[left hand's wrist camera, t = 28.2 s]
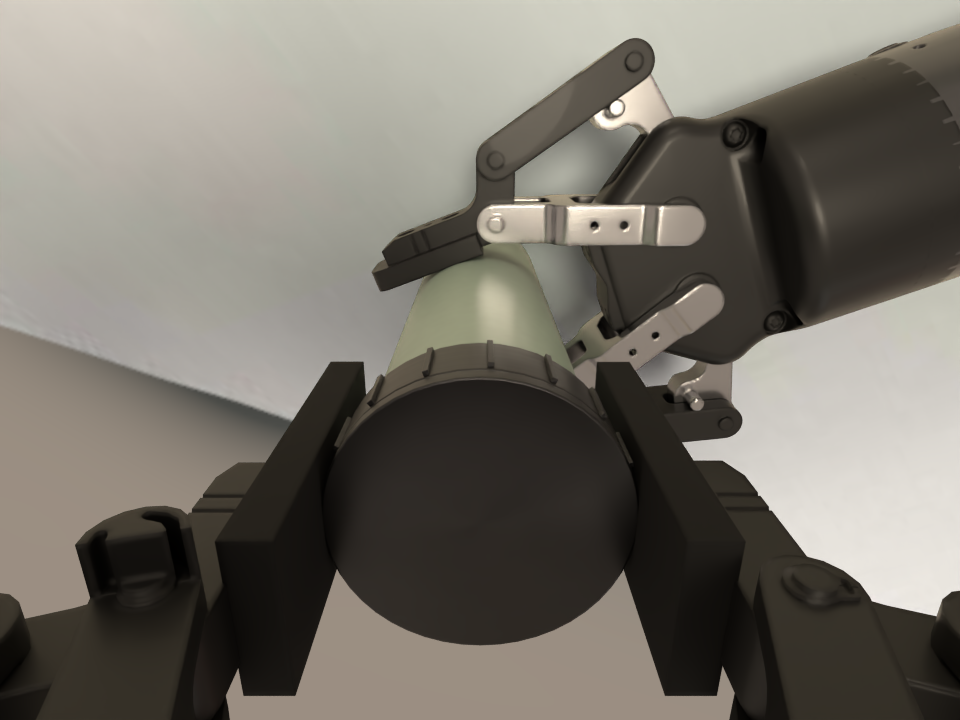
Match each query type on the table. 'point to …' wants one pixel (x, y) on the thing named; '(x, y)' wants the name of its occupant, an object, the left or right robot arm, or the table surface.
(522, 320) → the bottle
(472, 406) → the lid
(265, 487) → the left robot arm
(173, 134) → the table surface
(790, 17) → the table surface
